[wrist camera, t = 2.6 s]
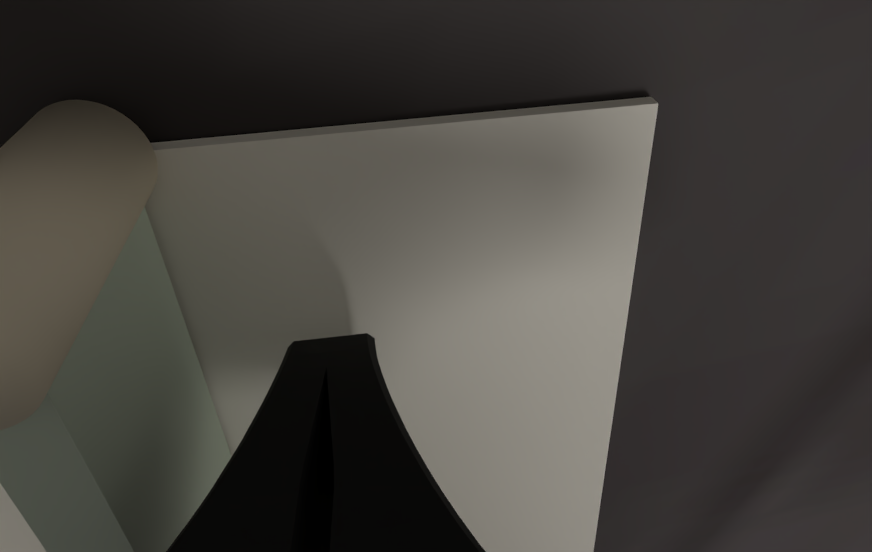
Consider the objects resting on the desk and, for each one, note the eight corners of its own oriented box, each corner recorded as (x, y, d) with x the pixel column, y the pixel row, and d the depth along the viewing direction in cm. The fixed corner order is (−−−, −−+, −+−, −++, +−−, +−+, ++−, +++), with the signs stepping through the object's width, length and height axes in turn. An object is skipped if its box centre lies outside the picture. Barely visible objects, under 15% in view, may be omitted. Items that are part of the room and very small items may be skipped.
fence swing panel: (273, 519, 15) (248, 747, 11) (190, 530, 15) (139, 763, 11) (135, 94, 9) (-1, 273, 6) (1, 105, 9) (-229, 296, 5)
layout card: (570, 683, 22) (573, 696, 22) (11, 764, 21) (5, 779, 21) (651, 97, 10) (661, 105, 10) (-584, 211, 9) (-618, 224, 9)
